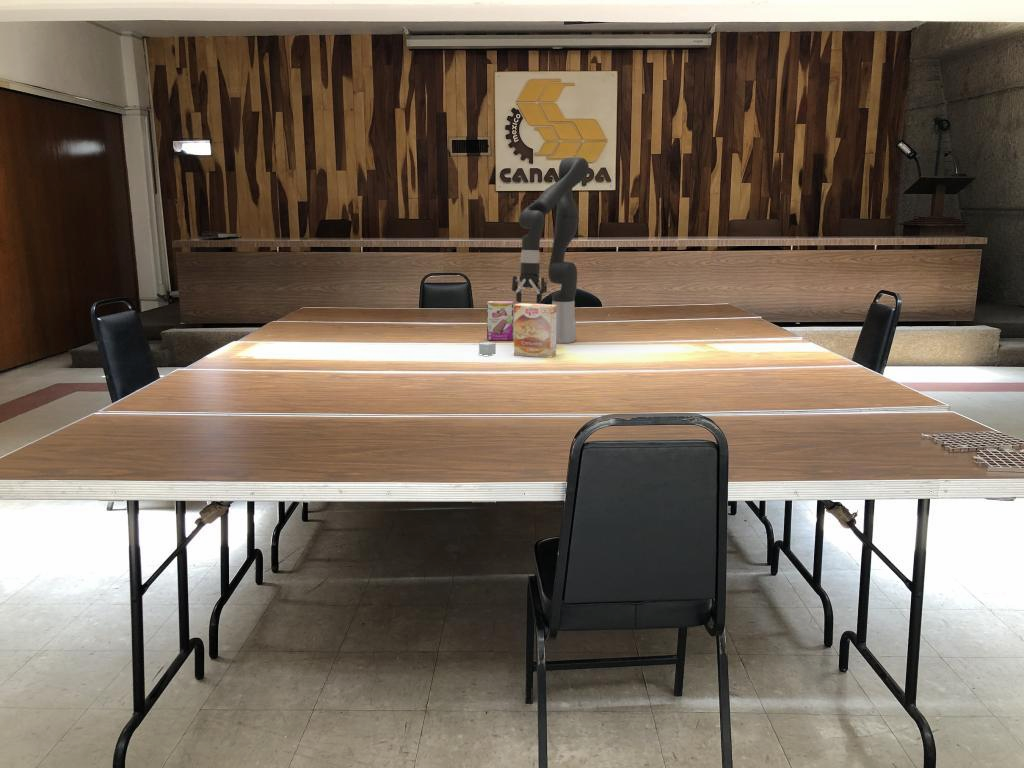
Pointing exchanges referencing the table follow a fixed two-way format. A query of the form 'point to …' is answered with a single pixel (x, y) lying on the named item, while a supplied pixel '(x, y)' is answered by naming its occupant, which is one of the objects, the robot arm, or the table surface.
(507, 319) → the candy bar box
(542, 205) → the robot arm
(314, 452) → the table surface
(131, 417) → the table surface
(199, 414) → the table surface
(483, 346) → the blue-grey cube
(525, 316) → the coffeecake box
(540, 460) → the table surface
